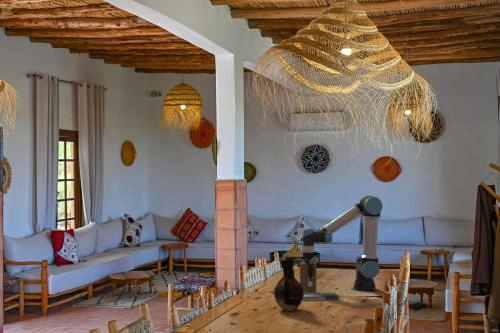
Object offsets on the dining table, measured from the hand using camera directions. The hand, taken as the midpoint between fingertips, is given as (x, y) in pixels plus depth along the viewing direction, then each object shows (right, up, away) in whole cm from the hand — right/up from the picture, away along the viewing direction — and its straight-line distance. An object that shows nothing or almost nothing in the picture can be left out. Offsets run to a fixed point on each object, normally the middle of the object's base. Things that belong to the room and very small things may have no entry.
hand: (308, 284), depth 461 cm
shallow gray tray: (0, -6, -17) cm, 18 cm away
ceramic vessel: (-16, -6, -53) cm, 55 cm away
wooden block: (0, -6, 0) cm, 6 cm away
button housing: (+13, -6, -16) cm, 22 cm away
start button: (+13, -5, -16) cm, 22 cm away
